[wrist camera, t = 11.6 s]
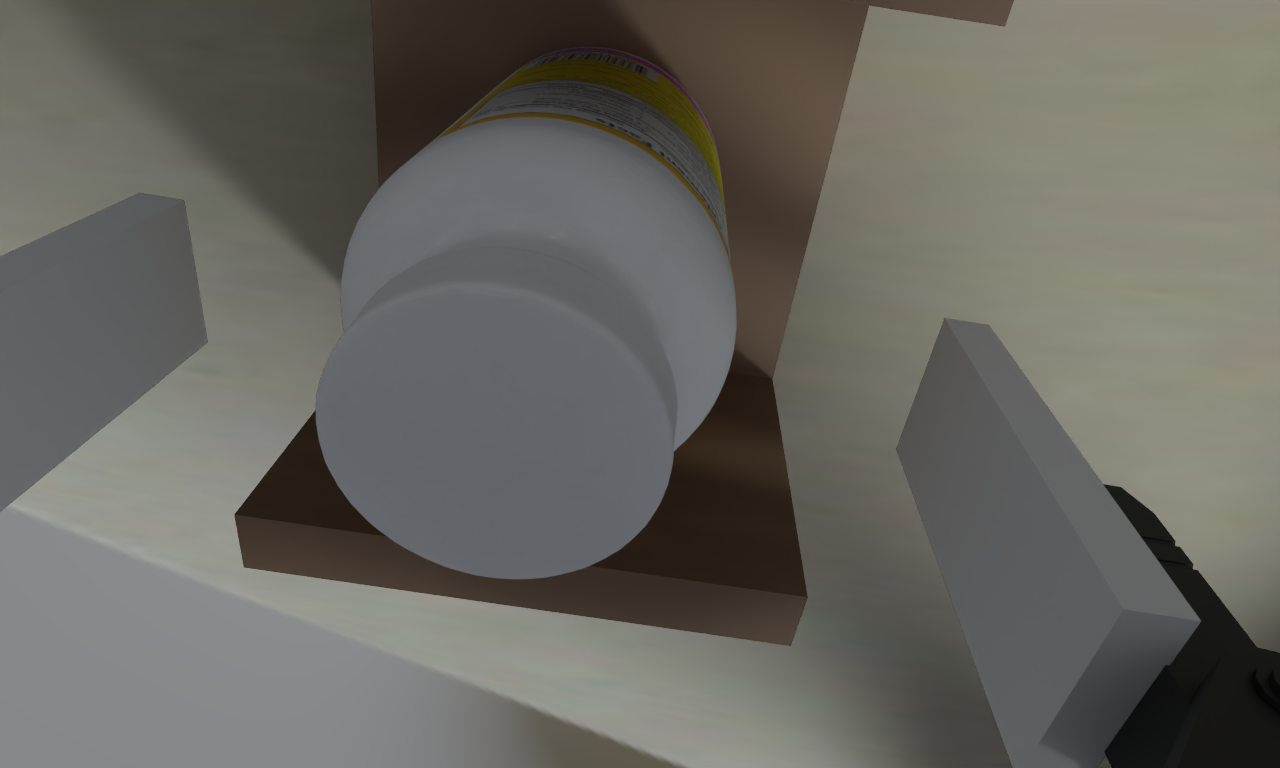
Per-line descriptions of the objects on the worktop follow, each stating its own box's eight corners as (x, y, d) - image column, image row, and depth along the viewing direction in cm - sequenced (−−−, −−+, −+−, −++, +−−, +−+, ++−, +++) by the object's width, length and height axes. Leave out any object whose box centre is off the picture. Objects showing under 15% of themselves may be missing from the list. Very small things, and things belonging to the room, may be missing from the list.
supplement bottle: (583, 328, 23) (482, 690, 12) (425, 151, 21) (125, 408, 10) (771, 196, 21) (850, 501, 10) (616, -21, 19) (497, 68, 8)
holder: (752, 418, 27) (780, 675, 18) (402, 367, 26) (249, 599, 17) (893, -143, 18) (1083, -201, 9) (385, -223, 18) (77, -362, 9)
